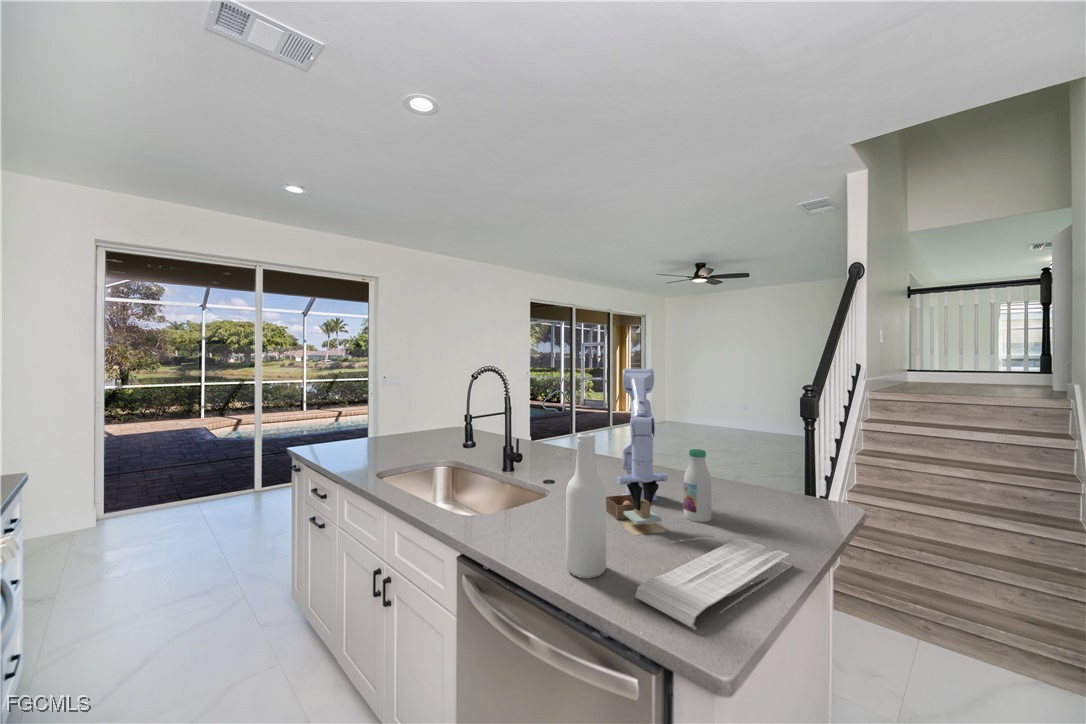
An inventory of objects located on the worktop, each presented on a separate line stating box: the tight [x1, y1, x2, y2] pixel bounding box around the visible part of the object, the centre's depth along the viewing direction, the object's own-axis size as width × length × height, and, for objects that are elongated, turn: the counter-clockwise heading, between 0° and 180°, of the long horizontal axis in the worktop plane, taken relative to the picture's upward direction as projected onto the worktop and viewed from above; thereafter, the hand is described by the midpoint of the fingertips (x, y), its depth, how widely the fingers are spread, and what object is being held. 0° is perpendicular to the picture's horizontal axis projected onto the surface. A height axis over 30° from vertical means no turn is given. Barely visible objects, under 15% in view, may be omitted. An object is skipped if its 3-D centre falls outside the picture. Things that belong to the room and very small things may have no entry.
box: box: [606, 494, 634, 521], centre depth 133 cm, size 9×9×4 cm
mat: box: [618, 519, 668, 536], centre depth 122 cm, size 10×10×1 cm
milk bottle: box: [683, 448, 712, 523], centre depth 129 cm, size 8×8×20 cm
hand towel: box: [634, 537, 794, 631], centre depth 92 cm, size 12×4×40 cm
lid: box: [623, 498, 662, 524], centre depth 122 cm, size 8×8×5 cm
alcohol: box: [565, 432, 607, 578], centre depth 98 cm, size 9×9×30 cm
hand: (642, 508), depth 122 cm, fingers closed on lid, 2 cm apart
